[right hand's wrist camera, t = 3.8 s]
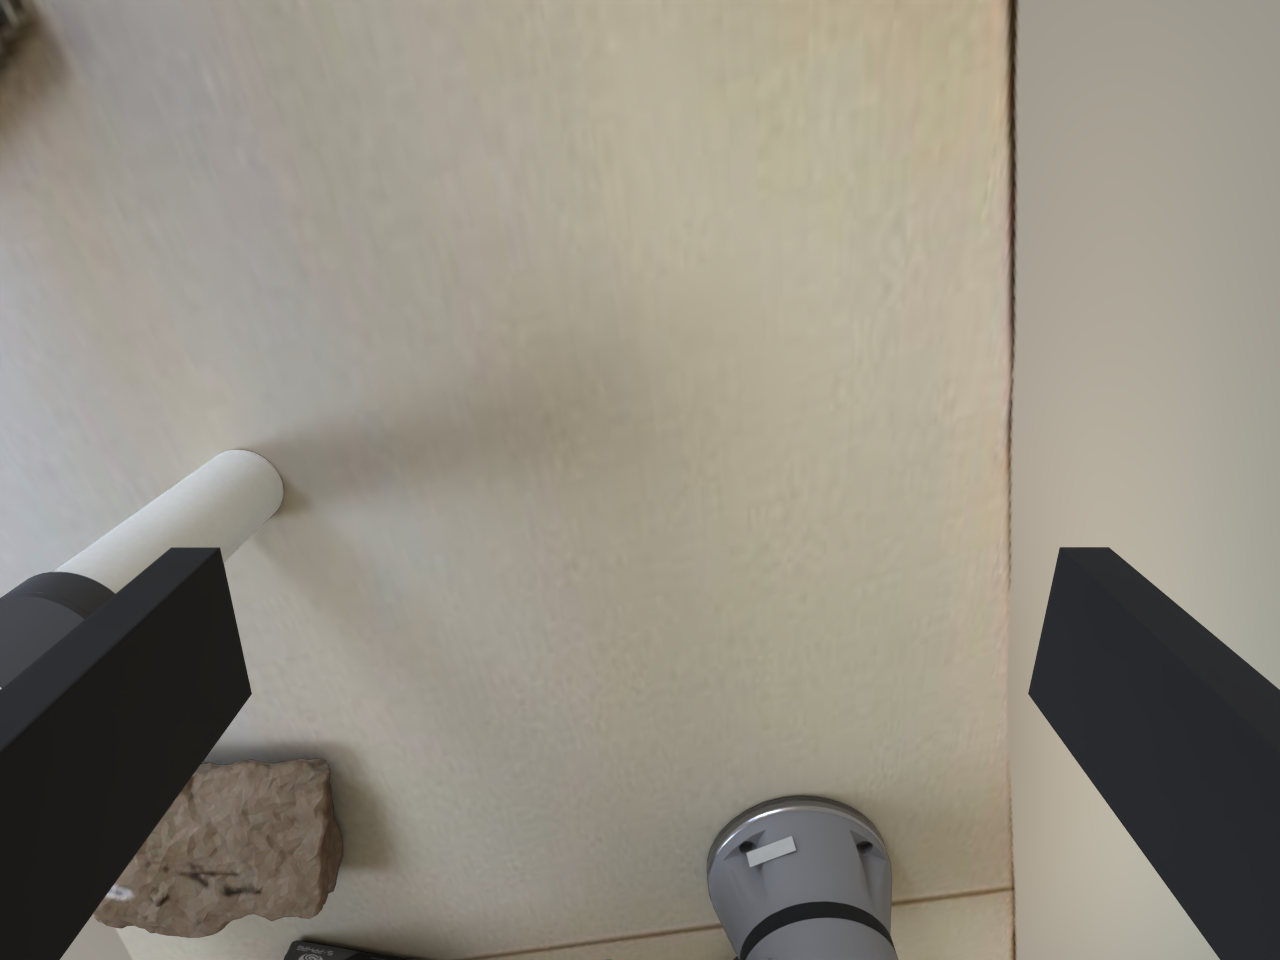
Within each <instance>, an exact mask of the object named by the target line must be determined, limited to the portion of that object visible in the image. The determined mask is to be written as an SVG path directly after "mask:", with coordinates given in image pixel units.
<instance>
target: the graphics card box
mask: <svg viewBox="0 0 1280 960" xmlns="http://www.w3.org/2000/svg"><path fill="white" fill-rule="evenodd" d="M284 960H404V959H399V958H394V957H388V956H382V955H376V954H372V953H371V954H370V953H367V952H365V953H364V952H359V951H356V950H350V949H344V948H338V947H334V946H327V945H320V944H316V943H309V942H305V941H294V942H292V943H291V945H290V947H289V950H288V952H287V954H286V955H285V958H284Z"/></svg>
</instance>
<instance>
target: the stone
mask: <svg viewBox="0 0 1280 960" xmlns="http://www.w3.org/2000/svg"><path fill="white" fill-rule="evenodd" d="M329 779H330V770H329V766H328V764H327V762H326V761H325V760H324V759H322V758H321V759H311V760H305V759H299V760H291V761H285V762H279V763H275V764H272V763H267V762H259V761H255V760H252V759H250V760H246V761H242V762H235V763H233V764H229V765H217V764H214V763H207V764H201V765H200V766H199V767H198V769H197V770H196V772H195V773H194V774H193V776H192V777H191V779H190V780H189V781H188V783H187V784H186V785H185V787H184V788H183V790H182V791H181V792H180V794H179V795H178V797H177V798H176V799H175V801H174V802H173V803H172V805H171V806H170V808H169V809H168V810H167V812H166V813H165V815H164V816H163V817H162V819H161V820H160V821H159V823H158V824H157V826H156V827H155V828H154V830H153V831H152V833H151V834H150V835H149V837H148V838H147V839H146V841H145V842H144V844H143V845H142V846H141V848H140V849H139V851H138V852H137V853H136V855H135V856H134V857H133V859H132V860H131V862H130V863H129V864H128V866H127V867H126V869H125V870H124V871H123V873H122V874H121V875H120V877H119V878H118V880H117V881H116V882H115V884H114V885H113V887H112V888H111V889H110V891H109V892H108V893H107V895H106V896H105V898H104V899H103V900H102V902H101V903H100V905H99V906H98V907H97V909H96V910H95V911H94V913H93V915H94V917H95V918H96V920H97V921H99V922H101V923H104V924H105V925H107V926H111V927H115V928H124V927H126V926H137V927H139V928H144V929H146V930H147V931H148V932H150V933H158V934H162V935H168V936H180V937H190V938H200V937H204V936H209V935H213V934H215V933H217V932H219V931H220V930H222V929H223V928H224V927H225V926H226V925H227V924H228V923H229V922H230V921H232V920H234V919H239V918H242V917H244V916H246V915H250V914H256V915H258V916H261V917H265V918H267V919H268V920H270V921H274V920H276V919H279V918H282V917H300V918H308V919H310V918H312V917H314V916H316V915H317V914H318V913H319V912H320V911H321V910H322V908H323V905H324V904H325V902H326V900H327V897H328V893H330V892H333V891H334V888H335V885H336V880H337V875H338V871H339V867H340V863H341V860H342V857H343V842H342V835H341V833H340V828H339V826H338V824H337V823H336V821H335V819H334V816H333V802H332V793H331V786H330V783H329Z"/></svg>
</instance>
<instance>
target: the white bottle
mask: <svg viewBox="0 0 1280 960" xmlns="http://www.w3.org/2000/svg"><path fill="white" fill-rule="evenodd" d="M283 492H284V491H283V484H282V480H281V478H280V476H279V474H278V472H277V471H276V469H275V468H274V467H273V465H272V464H271V463H269V462H268V461H267V460H266V459H264V458H263V457H261V456H260V455H258V454H255V453H253V452H250V451H246V450H229V451H225V452H222V453H220V454H218V455H217V456H216V457H214V458H213V459H211V460H210V461H208V462H207V463H206V464H204V465H203V466H201V467H200V468H199V469H197V470H196V471H194V472H193V473H191V474H190V475H189V476H187V477H186V478H184V479H183V480H182V481H180V482H179V483H177V484H176V485H175V486H173V487H172V488H170V489H169V490H167V491H166V492H165V493H163V494H162V495H160V496H159V497H158V498H156V499H155V500H153V501H152V502H150V503H149V504H148V505H146V506H145V507H143V508H142V509H141V510H139V511H138V512H136V513H135V514H134V515H132V516H131V517H129V518H128V519H126V520H125V521H124V522H122V523H121V524H119V525H118V526H117V527H115V528H114V529H112V530H111V531H110V532H108V533H107V534H105V535H104V536H102V537H101V538H100V539H98V540H97V541H95V542H94V543H93V544H91V545H90V546H88V547H87V548H85V549H84V550H83V551H81V552H80V553H78V554H77V555H76V556H74V557H73V558H71V559H70V560H69V561H67V562H66V563H64V564H63V565H61V566H60V567H59V568H57V569H56V570H54V571H53V572H69V573H75V574H79V575H82V576H86V577H88V578H91V579H93V580H95V581H97V582H99V583H101V584H103V585H104V586H106V587H107V588H109V589H110V590H112V591H113V592H114V593H115V594H116V593H117V592H118V591H120V590H121V589H122V588H123V587H124V586H126V585H127V584H128V583H129V582H130V581H132V580H133V579H134V578H135V577H136V576H138V575H139V574H140V573H141V572H142V571H144V570H145V569H146V568H147V567H148V566H150V565H151V564H152V563H153V562H154V561H156V560H157V559H158V558H159V557H160V556H161V555H163V554H164V553H165V552H166V551H167V550H169V549H170V548H171V547H220V549H221V554H222V558H223V563H224V562H225V561H226V560H227V559H228V558H229V557H230V556H231V555H232V554H233V553H234V552H235V551H236V550H237V549H238V548H239V547H240V546H241V545H242V544H243V543H244V542H245V541H246V540H247V539H248V538H249V537H251V536H252V535H253V534H254V533H255V532H256V531H257V530H258V529H259V528H260V527H261V526H262V525H263V524H264V523H265V522H266V521H267V520H268V519H269V518H270V517H271V516H272V515H273V514H274V513H275V512H276V511H277V510H278V508H279V507H280V505H281V503H282V500H283Z"/></svg>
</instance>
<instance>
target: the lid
mask: <svg viewBox="0 0 1280 960" xmlns="http://www.w3.org/2000/svg"><path fill="white" fill-rule="evenodd" d="M114 595H115V593H114V592H113V591H112V590H110V589H109V588H107V587H106V586H104V585H103V584H101V583H99V582H97V581H95V580H93V579H91V578H88V577H86V576H82V575H79V574H75V573H69V572H48V573H42V574H39V575H36V576H33V577H31V578H29V579H27V580H26V581H24V582H23V583H22V584H20V585H19V586H17V587H16V588H14V589H13V590H11V591H10V592H9V593H7V594H6V595H4V596H3V597H1V598H0V687H1V688H3V687H5V686H6V685H7V684H8V683H9V682H11V681H12V680H13V679H14V678H15V677H17V676H18V675H19V674H20V673H21V672H23V671H24V670H25V669H26V668H27V667H29V666H30V665H31V664H32V663H33V662H34V661H36V660H37V659H38V658H39V657H40V656H42V655H43V654H44V653H45V652H46V651H48V650H49V649H50V648H51V647H52V646H54V645H55V644H56V643H57V642H58V641H60V640H61V639H62V638H63V637H64V636H66V635H67V634H68V633H69V632H70V631H72V630H73V629H74V628H75V627H76V626H78V625H79V624H80V623H81V622H82V621H84V620H85V619H86V618H87V617H88V616H90V615H91V614H92V613H93V612H94V611H96V610H97V609H98V608H99V607H100V606H102V605H103V604H104V603H105V602H106V601H108V600H109V599H110V598H111V597H112V596H114Z"/></svg>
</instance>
